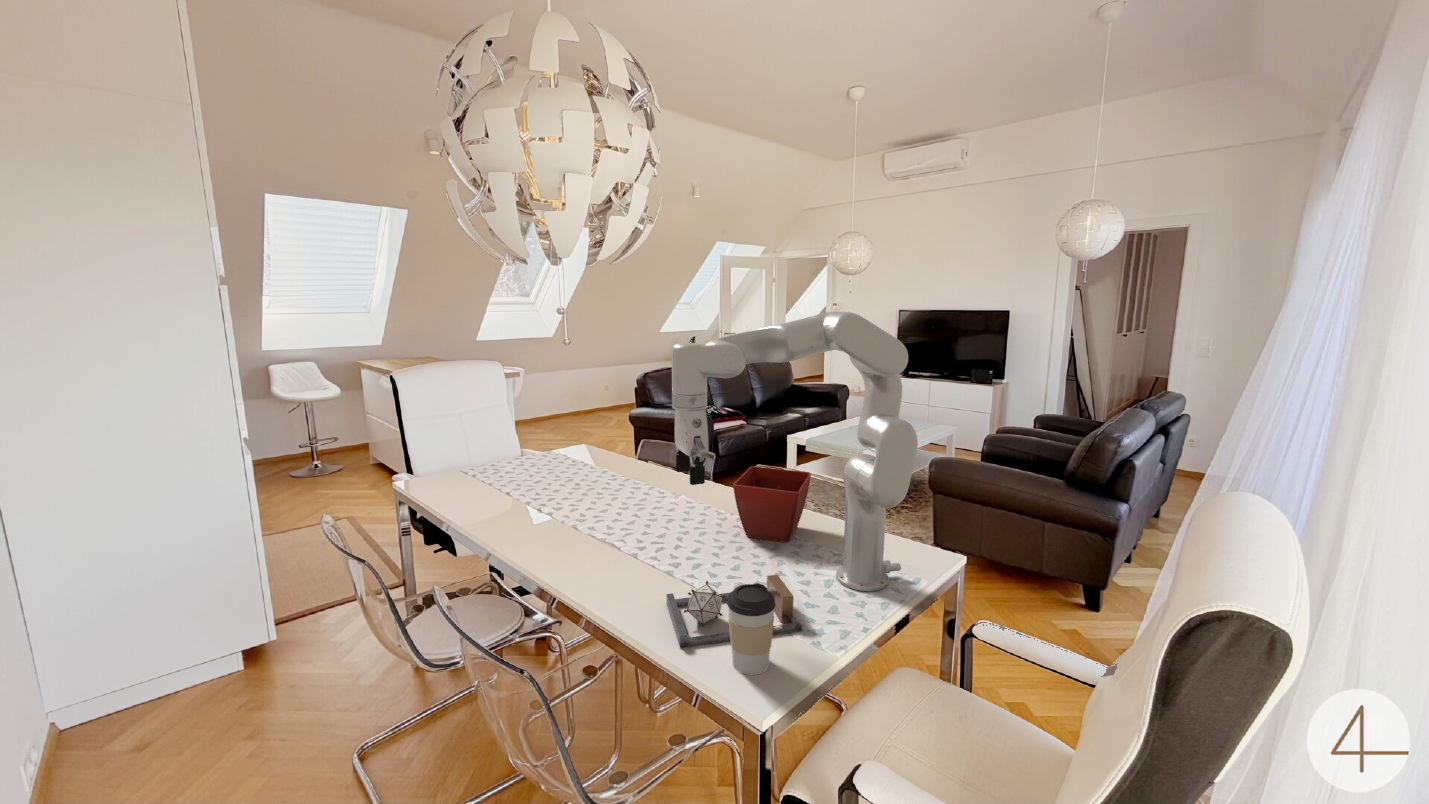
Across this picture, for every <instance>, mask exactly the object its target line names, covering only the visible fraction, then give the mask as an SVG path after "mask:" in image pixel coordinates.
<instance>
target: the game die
mask: <svg viewBox="0 0 1429 804" xmlns="http://www.w3.org/2000/svg"><path fill="white" fill-rule="evenodd" d="M687 594H688V595H689V597H690V599H689V603H688V605H687V608H686V609H684V611H683V613H684V614H686V613H689V615H691V616H692V617H693V618H694V619H696V621H698V622H699V623H700V624H701V628H702V629H704V627H705V626H704V625H705V624H706V623H708V622H710V621H711V620H712V619H714V618H716V619H718V618H719V616H720V617H723V613H721V611H722V610H721V609H722V603H723V601H722V598H725V597H726V596H725V595H724V596H721V595H720V594H721V593H718V592H717V591H716V590H715V589H714V588H712V587H711V586H710V585H709V581H708V580H706V581H705V585H703V586H700V587H699V588H697V589H696V590H694V589H693V588H692V589H691V592H687Z"/></svg>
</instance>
